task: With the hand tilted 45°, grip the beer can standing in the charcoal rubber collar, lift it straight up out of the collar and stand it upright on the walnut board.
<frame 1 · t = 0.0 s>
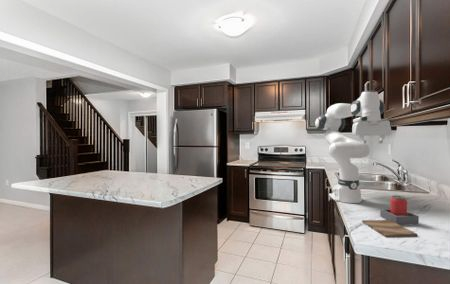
hand: (372, 143, 126), 39 cm above the counter, tool pointing down, fingers open, 8 cm apart
walnut board: (387, 228, 105), on the counter
beer can: (398, 220, 115), resting in can collar
can collar: (398, 220, 115), on the counter
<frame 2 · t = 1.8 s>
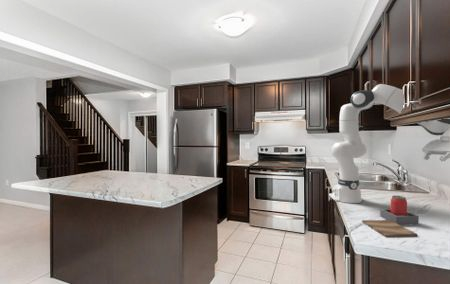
hand: (433, 159, 113), 31 cm above the counter, tool tilted 45°, fingers open, 8 cm apart
nothing on the counter moved.
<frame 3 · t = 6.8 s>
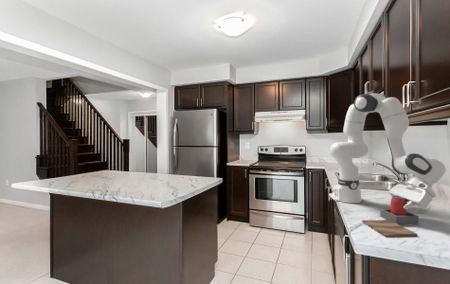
hand: (397, 206, 115), 7 cm above the counter, tool tilted 45°, fingers closed on beer can, 7 cm apart
beer can: (398, 220, 115), resting in can collar, touching gripper
when the fingers open (10 cm above the counter, at t = 13.2 s): beer can stays where it is, resting on walnut board.
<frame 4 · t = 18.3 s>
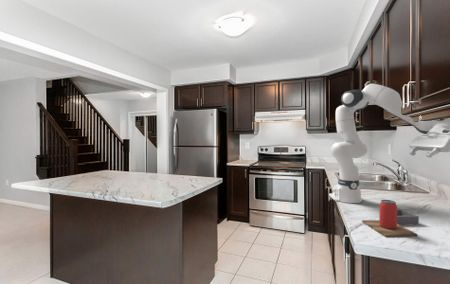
hand: (419, 155, 111), 33 cm above the counter, tool tilted 45°, fingers open, 8 cm apart
beer can: (387, 227, 105), point 1 cm above the counter, touching walnut board
at the end: beer can inside the target area on the walnut board (0.1 cm from its centre), point 0.8 cm above the walnut board's base; beer can tilted 0°; the gripper is holding nothing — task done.
